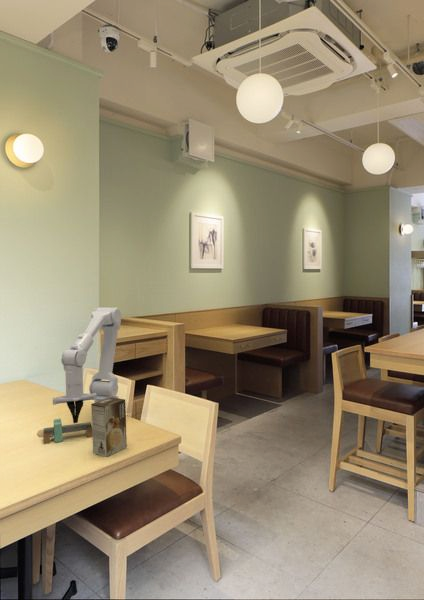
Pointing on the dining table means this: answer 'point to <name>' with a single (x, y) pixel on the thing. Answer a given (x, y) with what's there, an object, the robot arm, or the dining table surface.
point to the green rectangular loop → (57, 430)
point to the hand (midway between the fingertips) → (75, 422)
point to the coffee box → (109, 426)
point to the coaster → (40, 433)
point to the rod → (68, 430)
